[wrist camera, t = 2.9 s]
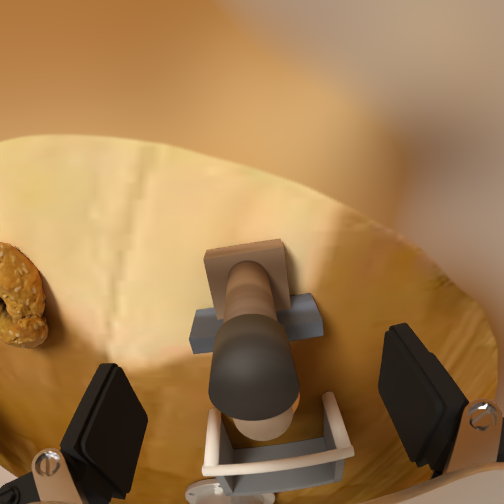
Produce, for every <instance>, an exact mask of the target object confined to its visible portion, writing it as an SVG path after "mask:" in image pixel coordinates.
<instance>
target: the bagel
mask: <svg viewBox="0 0 504 504" xmlns="http://www.w3.org/2000/svg"><path fill="white" fill-rule="evenodd" d="M45 299H46V297H45V295H44V292H43V289H42V280H41V278H40V275H39V272H38V269H37V268H36V267H35V266H34V265H33V264H32V263H31V261H30V260H29V259H27V258H26V257H25V256H24V255H23V254H21V253H20V252H19V251H18V249H16V248H14V247H12V246H11V245H10V244H8V243H2V242H0V339H1V340H2V341H4V342H5V343H6V344H8V345H11V346H13V347H20V348H35V347H37V346H38V345H39V344H41V343H43V342H44V340H45V339H46V338H47V336H48V326H47V323H46V318H45V317H44V315H43V312H44V308H45V302H44V300H45Z"/></svg>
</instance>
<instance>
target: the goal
mask: <svg viewBox="0 0 504 504" xmlns="http://www.w3.org/2000/svg"><path fill="white" fill-rule="evenodd" d="M322 400H323V404H324V434H323V437H319V438H314V439H309V440H303V441H298V442H292V443H285V444H278V445H271V446H263V447H254V448H243V449H233V448H232V445H231V442H230V440H229V437H228V434H227V432H226V429H225V426H224V423H223V421H222V418H221V412H220V411H219V410H218V409H217V408H211V409H210V410H209V415H208V425H207V436H206V447H205V458H204V465H203V466H202V473H203V476H215V477H216V479H217V481H218V482H219V484H220V486H221V488H222V489H223V491H224V493H225V494H226V496H243V495H256V494H267V493H276V492H284V491H291V490H297V489H303V488H309V487H314V486H320V485H325V484H329V483H334V482H338V481H342V476H343V470H344V463H345V458H348V457H352V456H354V448H353V446H352V445H351V443H350V440H349V437H348V434H347V431H346V428H345V425H344V422H343V419H342V416H341V413H340V410H339V408H338V405H337V402H336V399H335V396H334V393H333V392H330V391H329V392H325V393H324V394H323V395H322Z"/></svg>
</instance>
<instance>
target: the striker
mask: <svg viewBox="0 0 504 504" xmlns="http://www.w3.org/2000/svg"><path fill="white" fill-rule="evenodd" d="M204 264H205V269H206V273H207V278H208V282H209V286H210V291H211V295H212V300H213V304H214V308H208V309H200V310H196V313H195V317H194V321H193V325H192V329H191V333H190V337H189V341H190V344H191V347H192V351H193V354H199V353H209V352H213V356H212V364H211V373H210V381H209V397H210V400H211V402H212V403H213V405H214V406H215V407H216V408H217V409H218V410H219V411H220V412H222V413H223V414H225V415H227V416H229V417H232V418H233V420H234V423H235V425H236V427H237V428H238V430H239V431H240V432H241V433H242V434H243V435H245V436H246V437H248V438H250V439H253V440H257V441H268V440H272V439H275V438H277V437H279V436H280V435H282V434H283V433H284V432H285V431H286V430H287V429H288V427H289V426H290V424H291V422H292V418H293V406H292V405H293V404H294V403H295V401H296V399H297V398H298V395H299V382H298V378H297V374H296V370H295V365H294V361H293V357H292V352H291V348H290V344H289V342H290V341H296V340H301V339H307V338H312V337H318V336H323V320H322V317H321V315H320V313H319V311H318V308H317V306H316V304H315V302H314V300H313V298H312V295H311V293H307V294H301V295H295V296H290V295H289V286H288V277H287V269H286V261H285V252H284V246H283V244H282V241H281V239H275V240H268V241H262V242H255V243H249V244H242V245H236V246H229V247H223V248H217V249H210V250H206V253H205V256H204Z"/></svg>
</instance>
